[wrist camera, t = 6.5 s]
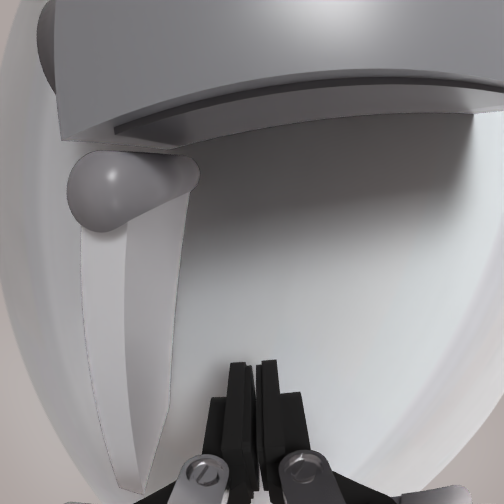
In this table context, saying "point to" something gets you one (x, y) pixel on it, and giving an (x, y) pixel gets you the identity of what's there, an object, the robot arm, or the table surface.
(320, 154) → the table surface
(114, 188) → the side door
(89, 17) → the grey knobbed panel
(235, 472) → the robot arm
